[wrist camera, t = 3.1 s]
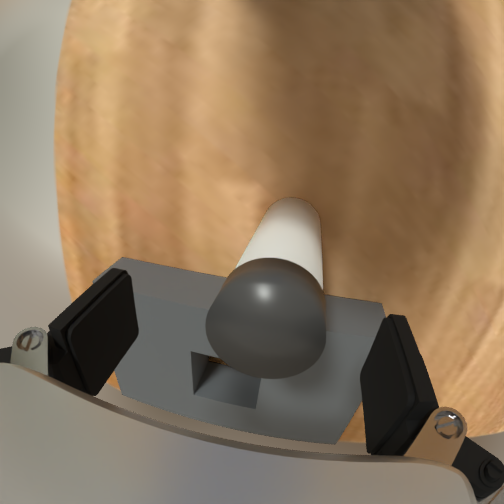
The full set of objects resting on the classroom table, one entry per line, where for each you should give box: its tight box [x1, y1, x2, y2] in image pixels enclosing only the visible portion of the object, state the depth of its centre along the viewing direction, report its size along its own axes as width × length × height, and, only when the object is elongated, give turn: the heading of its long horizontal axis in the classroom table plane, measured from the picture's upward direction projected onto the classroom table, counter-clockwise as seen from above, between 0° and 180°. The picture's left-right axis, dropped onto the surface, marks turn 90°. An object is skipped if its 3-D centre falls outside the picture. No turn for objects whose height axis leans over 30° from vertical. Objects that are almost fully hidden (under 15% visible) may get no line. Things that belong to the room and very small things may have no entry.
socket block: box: [93, 257, 386, 444], centre depth 24 cm, size 22×14×4 cm, turn 85°
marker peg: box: [205, 197, 326, 379], centre depth 15 cm, size 4×4×12 cm
